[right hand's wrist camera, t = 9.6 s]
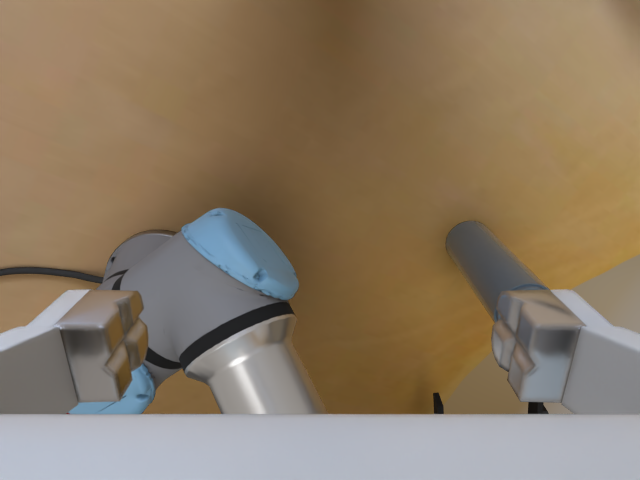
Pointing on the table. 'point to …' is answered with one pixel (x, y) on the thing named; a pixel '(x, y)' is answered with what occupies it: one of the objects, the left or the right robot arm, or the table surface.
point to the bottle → (488, 264)
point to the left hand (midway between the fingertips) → (487, 394)
